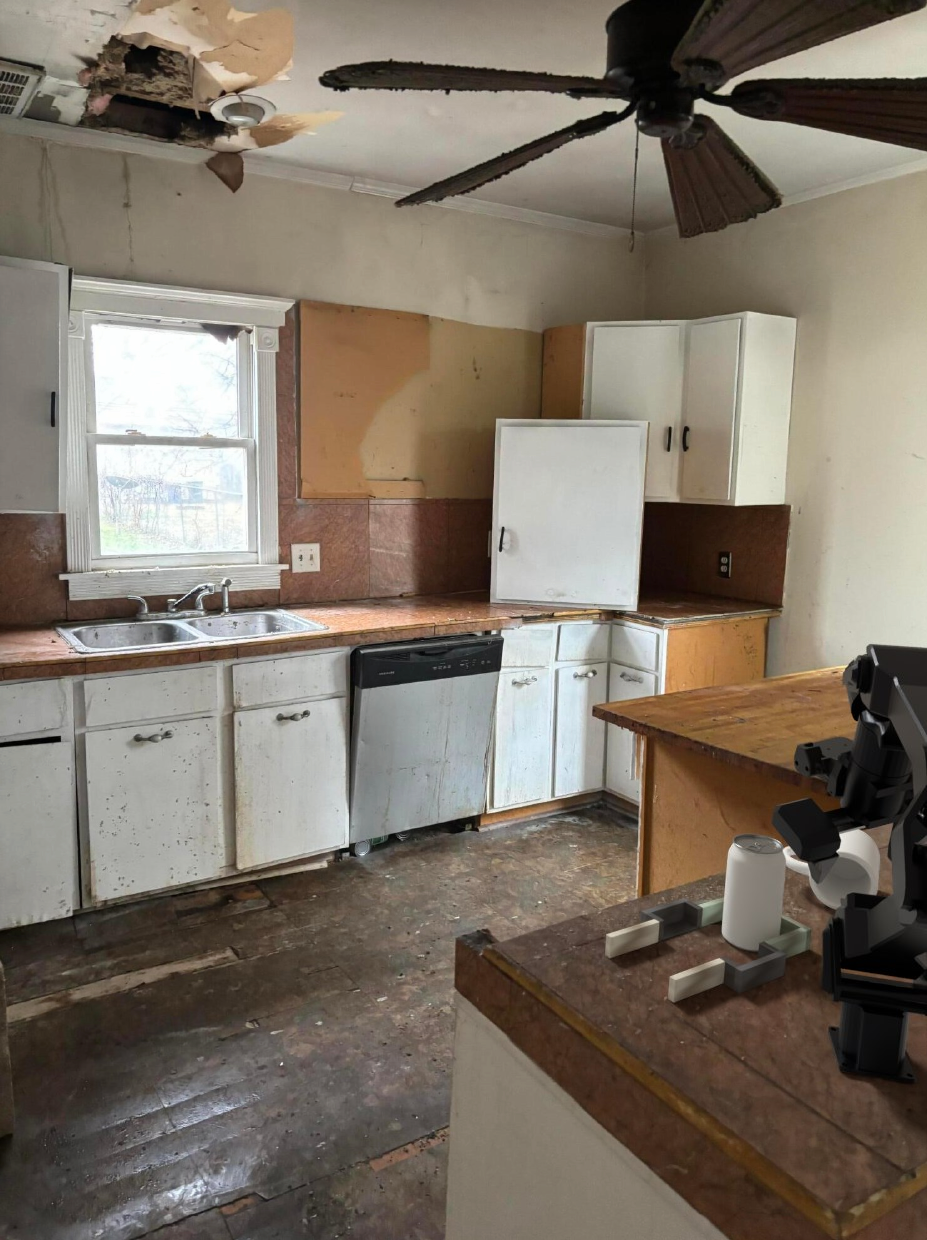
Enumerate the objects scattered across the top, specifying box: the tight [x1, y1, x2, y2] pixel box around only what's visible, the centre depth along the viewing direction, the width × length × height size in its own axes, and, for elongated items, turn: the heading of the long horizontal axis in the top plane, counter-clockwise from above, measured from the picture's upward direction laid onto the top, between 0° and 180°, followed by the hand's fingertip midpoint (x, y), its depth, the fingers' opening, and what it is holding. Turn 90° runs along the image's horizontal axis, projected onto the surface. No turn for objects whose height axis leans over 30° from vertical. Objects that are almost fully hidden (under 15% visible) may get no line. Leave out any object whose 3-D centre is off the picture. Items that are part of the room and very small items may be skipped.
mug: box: [783, 829, 881, 911], centre depth 117 cm, size 12×10×8 cm
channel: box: [604, 896, 813, 1004], centre depth 101 cm, size 22×15×2 cm
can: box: [721, 833, 787, 953], centre depth 103 cm, size 6×6×12 cm
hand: (854, 870), depth 94 cm, fingers open, 9 cm apart
